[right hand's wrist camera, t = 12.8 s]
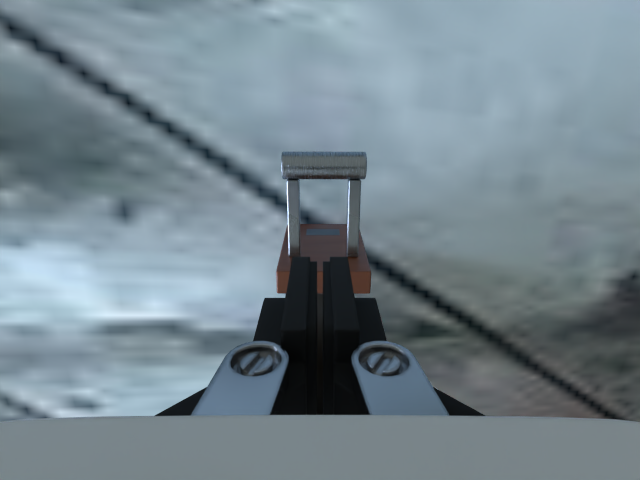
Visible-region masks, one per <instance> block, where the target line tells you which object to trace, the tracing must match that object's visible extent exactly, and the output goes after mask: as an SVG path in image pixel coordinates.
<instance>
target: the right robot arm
mask: <svg viewBox="0 0 640 480" xmlns="http://www.w3.org/2000/svg"><path fill="white" fill-rule="evenodd" d="M0 480H640V422H637V421H627V420H616V419H594V418H566V417H526V416H485V415H483V414H481V413H479V412H478V411H476V410H474V409H472V408H470V407H468V406H467V405H465V404H463V403H461V402H459V401H458V400H456V399H454V398H452V397H450V396H448V395H447V394H445V393H443V392H441V391H439V390H437V389H436V388H434V387H432V385H431V383H430V382H429V380H428V378H427V376H426V375H425V373H424V371H423V370H422V368H421V366H420V365H419V363H418V361H417V360H416V358H415V356H414V355H413V354H412V353H411V352H410V351H409V350H408V349H406V348H405V347H403V346H401V345H399V344H396V343H393V342H388V341H387V340H386V336H385V332H384V328H383V325H382V321H381V317H380V313H379V309H378V305H377V302H376V299H375V298H354V292H353V286H352V279H351V273H350V267H349V261H348V257H330V261H323V415H317V261H310V257H292V261H291V267H290V273H289V279H288V286H287V292H286V298H265V299H264V302H263V305H262V309H261V313H260V317H259V321H258V325H257V328H256V332H255V336H254V340H253V341H252V342H247V343H244V344H241V345H239V346H237V347H235V348H234V349H232V350H231V351H230V352H229V353H228V354H227V355H226V356H225V358H224V360H223V361H222V363H221V365H220V366H219V368H218V370H217V371H216V373H215V375H214V376H213V378H212V380H211V382H210V383H209V385H208V387H206V388H204V389H203V390H201V391H199V392H197V393H195V394H193V395H192V396H190V397H188V398H186V399H184V400H182V401H181V402H179V403H177V404H175V405H173V406H172V407H170V408H168V409H166V410H164V411H162V412H161V413H159V414H157V415H155V416H121V417H74V418H46V419H24V420H13V421H3V422H0Z"/></svg>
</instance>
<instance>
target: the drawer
mask: <svg viewBox="0 0 640 480" xmlns="http://www.w3.org/2000/svg"><path fill="white" fill-rule="evenodd" d="M281 170H282V178H283V179H287V211H288V225H287V229H286V233H285V237H284V241H283V246H282V250H281V254H280V258H279V262H278V267H277V271H276V279H277V293H286V292H287V286H288V279H289V273H290V267H291V261H292V257H310V261H317V415H323V261H330V257H348V261H349V267H350V273H351V279H352V286H353V292H354V293H370V287H371V270H370V266H369V262H368V259H367V255H366V251H365V248H364V244H363V241H362V237H361V233H360V230H359V222H360V196H361V180H360V179H365V178H366V171H367V157H366V152H282V158H281ZM300 179H348V201H347V224H300Z"/></svg>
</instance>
